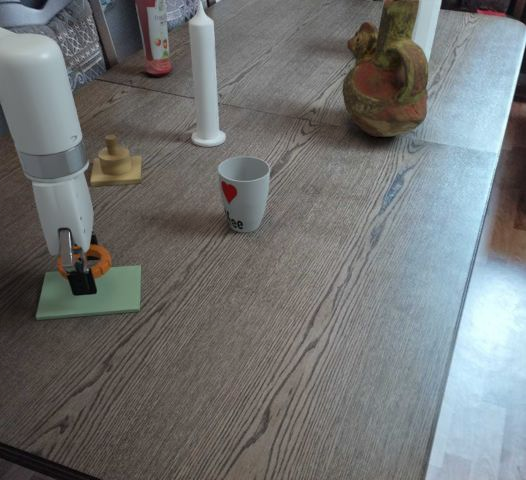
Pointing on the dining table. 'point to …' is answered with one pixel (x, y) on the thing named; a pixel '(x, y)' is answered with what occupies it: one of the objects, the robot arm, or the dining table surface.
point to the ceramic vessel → (387, 73)
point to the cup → (244, 191)
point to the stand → (115, 165)
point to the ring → (96, 270)
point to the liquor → (154, 36)
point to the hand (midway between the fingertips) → (87, 275)
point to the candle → (204, 80)
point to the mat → (103, 302)
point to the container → (425, 24)
